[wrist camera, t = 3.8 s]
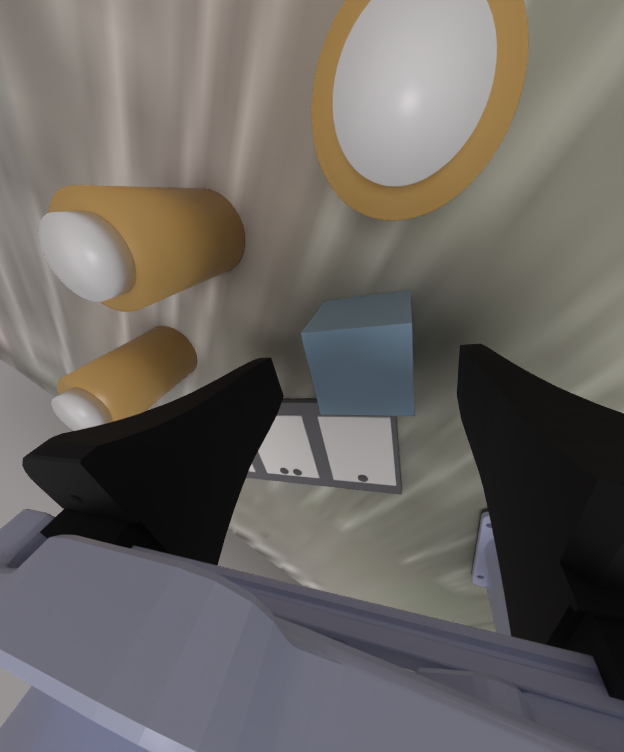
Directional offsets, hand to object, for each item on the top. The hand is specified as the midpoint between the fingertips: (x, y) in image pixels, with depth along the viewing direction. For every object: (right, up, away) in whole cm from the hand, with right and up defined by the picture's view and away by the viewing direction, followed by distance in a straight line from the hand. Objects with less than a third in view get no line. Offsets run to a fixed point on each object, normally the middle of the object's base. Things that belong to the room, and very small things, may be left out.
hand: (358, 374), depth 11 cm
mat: (-4, -5, +9) cm, 11 cm away
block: (+1, +2, +3) cm, 4 cm away
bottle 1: (-7, +7, +3) cm, 10 cm away
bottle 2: (-11, +2, +8) cm, 14 cm away
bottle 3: (+2, +8, -1) cm, 8 cm away
